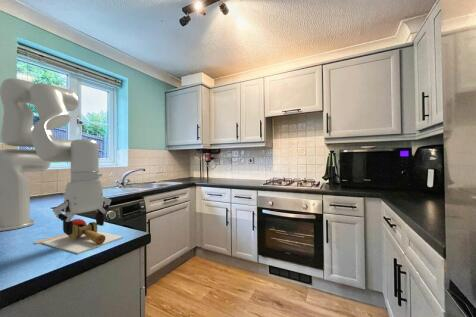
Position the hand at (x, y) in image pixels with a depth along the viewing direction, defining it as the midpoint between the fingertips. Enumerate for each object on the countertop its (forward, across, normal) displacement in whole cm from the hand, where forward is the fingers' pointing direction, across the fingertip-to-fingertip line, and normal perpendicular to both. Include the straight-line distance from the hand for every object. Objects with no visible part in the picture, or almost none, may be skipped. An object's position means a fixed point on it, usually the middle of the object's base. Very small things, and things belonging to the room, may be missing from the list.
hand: (85, 229), depth 70 cm
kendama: (+4, 0, 0) cm, 4 cm away
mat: (+4, 0, -1) cm, 4 cm away
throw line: (+4, 0, -12) cm, 13 cm away
